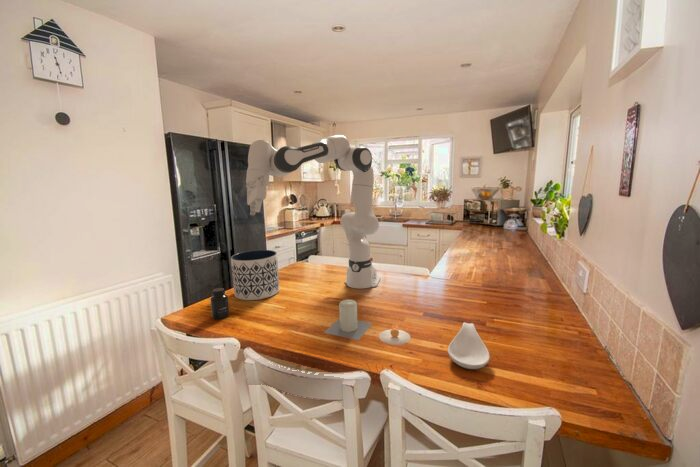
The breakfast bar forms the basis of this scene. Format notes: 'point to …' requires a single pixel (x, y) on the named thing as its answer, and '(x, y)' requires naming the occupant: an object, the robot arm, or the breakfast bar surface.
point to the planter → (255, 274)
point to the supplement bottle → (219, 304)
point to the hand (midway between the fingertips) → (255, 213)
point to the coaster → (391, 340)
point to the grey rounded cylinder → (348, 315)
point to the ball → (394, 332)
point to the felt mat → (355, 334)
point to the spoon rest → (468, 348)
